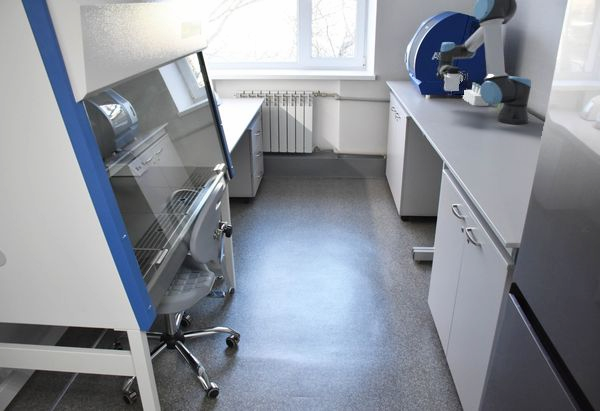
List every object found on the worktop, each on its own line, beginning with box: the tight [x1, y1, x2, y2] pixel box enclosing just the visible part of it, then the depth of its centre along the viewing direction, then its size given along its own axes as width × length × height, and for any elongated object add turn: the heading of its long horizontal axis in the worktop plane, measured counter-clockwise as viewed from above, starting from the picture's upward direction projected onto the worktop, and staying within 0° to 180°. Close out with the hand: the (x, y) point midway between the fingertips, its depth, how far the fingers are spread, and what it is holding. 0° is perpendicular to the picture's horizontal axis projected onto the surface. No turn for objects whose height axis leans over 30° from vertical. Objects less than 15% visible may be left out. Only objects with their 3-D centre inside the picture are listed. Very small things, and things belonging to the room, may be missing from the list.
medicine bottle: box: [443, 66, 461, 92], centre depth 260 cm, size 7×7×12 cm
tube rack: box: [462, 82, 490, 107], centre depth 307 cm, size 22×9×11 cm, turn 1°
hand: (453, 78), depth 256 cm, fingers closed on medicine bottle, 7 cm apart
